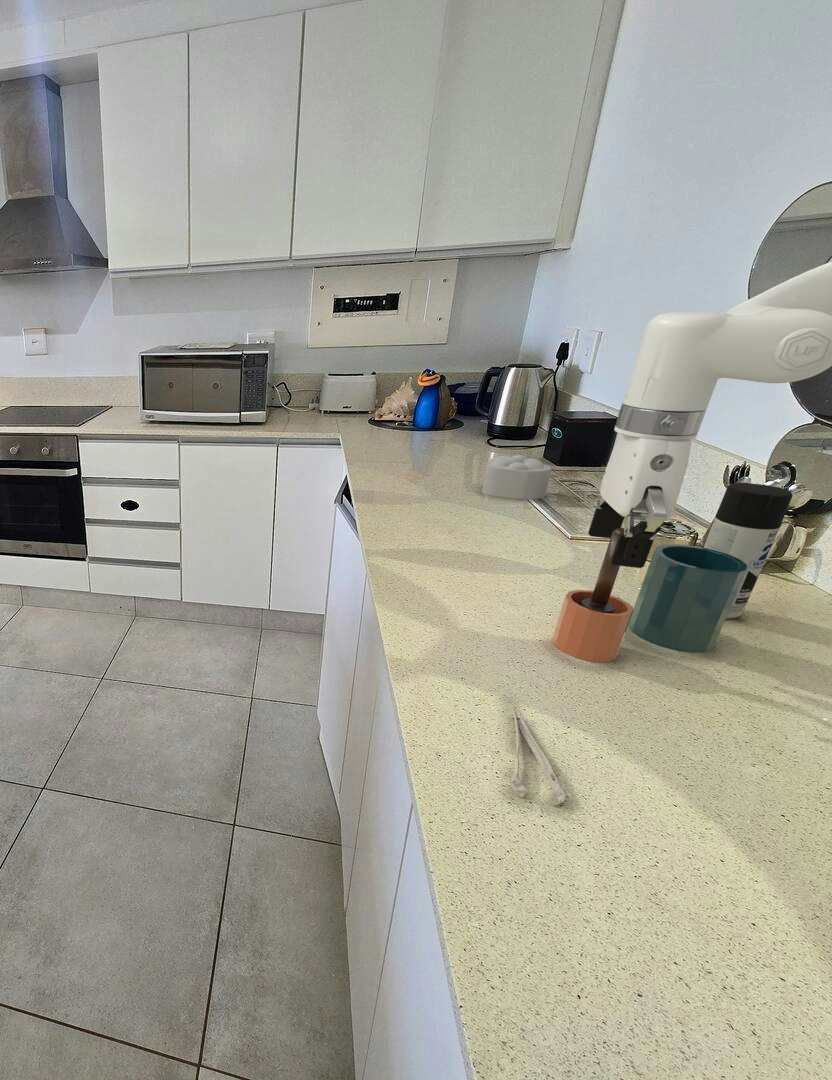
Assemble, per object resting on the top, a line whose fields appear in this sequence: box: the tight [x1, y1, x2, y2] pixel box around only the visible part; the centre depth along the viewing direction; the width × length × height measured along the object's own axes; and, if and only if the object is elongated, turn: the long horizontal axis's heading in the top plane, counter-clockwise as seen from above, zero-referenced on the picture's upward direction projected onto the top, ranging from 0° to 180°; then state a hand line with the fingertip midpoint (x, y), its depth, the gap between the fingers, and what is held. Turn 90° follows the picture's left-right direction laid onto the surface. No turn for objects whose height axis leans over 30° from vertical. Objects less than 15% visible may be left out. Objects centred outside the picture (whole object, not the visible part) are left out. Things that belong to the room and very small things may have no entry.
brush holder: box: [551, 589, 634, 664], centre depth 81 cm, size 7×7×8 cm
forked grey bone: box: [510, 706, 567, 806], centre depth 66 cm, size 18×5×2 cm, turn 155°
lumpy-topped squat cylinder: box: [481, 454, 553, 501], centre depth 142 cm, size 10×13×9 cm
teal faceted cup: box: [628, 543, 747, 654], centre depth 82 cm, size 9×9×13 cm
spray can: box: [703, 482, 794, 620], centre depth 87 cm, size 7×7×20 cm
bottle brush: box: [580, 527, 624, 614], centre depth 78 cm, size 4×4×18 cm
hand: (613, 550), depth 76 cm, fingers open, 9 cm apart
